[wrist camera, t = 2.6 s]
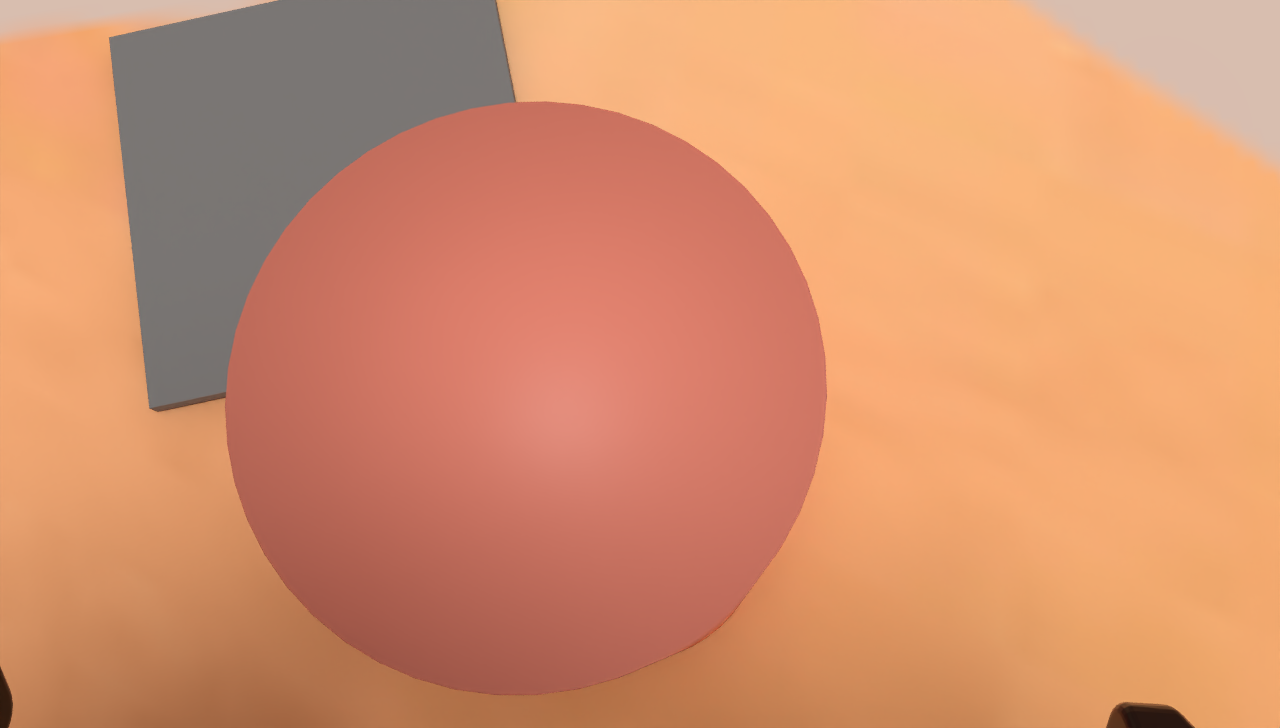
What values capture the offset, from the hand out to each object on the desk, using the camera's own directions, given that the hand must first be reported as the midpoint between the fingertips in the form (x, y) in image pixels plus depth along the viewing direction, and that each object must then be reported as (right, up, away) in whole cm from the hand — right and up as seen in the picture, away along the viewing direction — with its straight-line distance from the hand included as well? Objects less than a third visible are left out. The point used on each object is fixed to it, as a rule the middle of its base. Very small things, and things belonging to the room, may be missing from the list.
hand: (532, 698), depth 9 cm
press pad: (-5, +6, +12) cm, 14 cm away
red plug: (+1, 0, +10) cm, 10 cm away
